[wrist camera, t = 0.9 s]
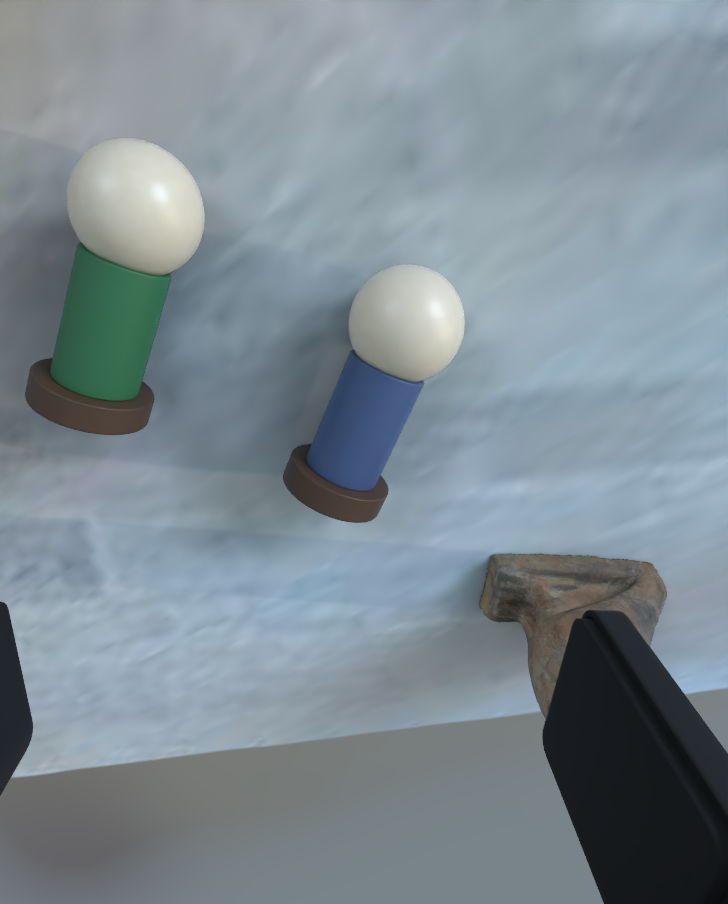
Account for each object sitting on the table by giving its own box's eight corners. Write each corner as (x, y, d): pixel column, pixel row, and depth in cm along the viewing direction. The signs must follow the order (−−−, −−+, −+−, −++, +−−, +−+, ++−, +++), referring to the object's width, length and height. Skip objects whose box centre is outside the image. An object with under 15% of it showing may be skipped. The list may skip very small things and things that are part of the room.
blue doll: (372, 241, 28) (381, 248, 23) (470, 286, 29) (499, 301, 24) (286, 454, 32) (278, 499, 27) (374, 486, 33) (382, 535, 28)
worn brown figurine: (472, 585, 40) (480, 837, 23) (494, 521, 38) (519, 749, 21) (638, 629, 39) (766, 922, 23) (670, 565, 37) (837, 839, 20)
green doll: (112, 123, 25) (56, 101, 20) (230, 177, 27) (205, 168, 21) (57, 372, 30) (0, 405, 25) (160, 409, 31) (126, 448, 26)
